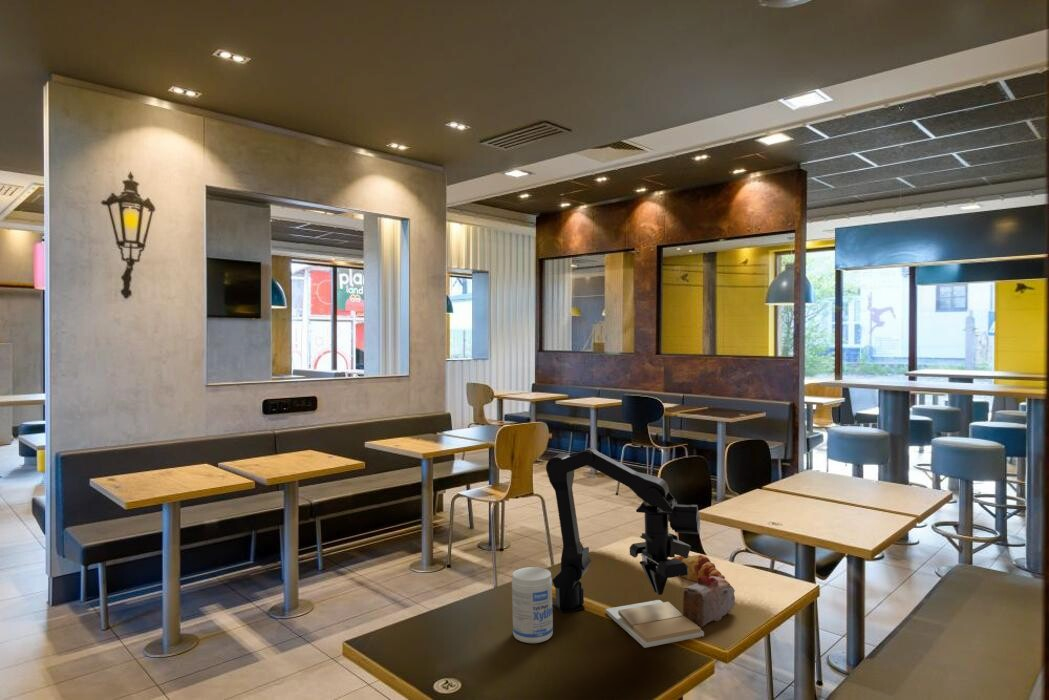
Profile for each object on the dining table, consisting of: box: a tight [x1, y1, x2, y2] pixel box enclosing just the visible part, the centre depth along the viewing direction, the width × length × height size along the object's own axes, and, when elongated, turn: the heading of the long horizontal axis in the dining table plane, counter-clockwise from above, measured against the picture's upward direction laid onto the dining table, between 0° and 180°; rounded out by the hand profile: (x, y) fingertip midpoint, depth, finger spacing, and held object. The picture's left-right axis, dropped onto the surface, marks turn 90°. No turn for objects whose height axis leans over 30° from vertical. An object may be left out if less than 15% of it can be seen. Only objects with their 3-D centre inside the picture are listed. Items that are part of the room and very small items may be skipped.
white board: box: [605, 599, 705, 649], centre depth 153 cm, size 16×20×2 cm
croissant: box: [671, 554, 726, 583], centre depth 183 cm, size 21×10×8 cm, turn 30°
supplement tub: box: [511, 566, 554, 644], centre depth 149 cm, size 10×10×15 cm
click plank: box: [618, 601, 684, 629], centre depth 154 cm, size 14×7×1 cm, turn 108°
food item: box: [682, 576, 736, 628], centre depth 156 cm, size 14×8×10 cm, turn 132°
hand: (658, 593), depth 156 cm, fingers closed
